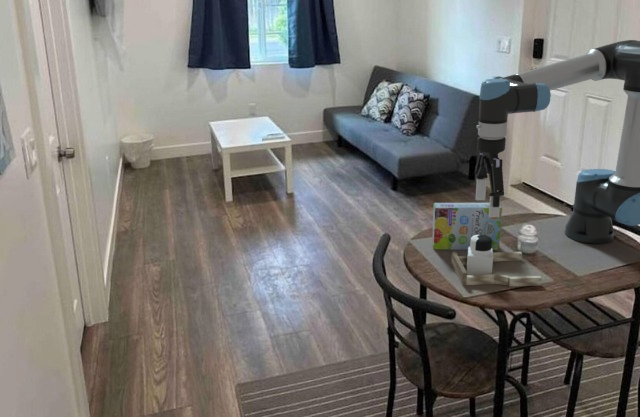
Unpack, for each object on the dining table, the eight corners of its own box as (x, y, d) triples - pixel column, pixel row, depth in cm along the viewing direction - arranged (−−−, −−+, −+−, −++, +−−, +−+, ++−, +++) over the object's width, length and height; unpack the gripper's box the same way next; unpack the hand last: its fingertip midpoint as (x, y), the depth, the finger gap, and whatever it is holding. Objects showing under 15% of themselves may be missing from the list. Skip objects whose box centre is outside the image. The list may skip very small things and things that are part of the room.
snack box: (495, 243, 190) (499, 201, 185) (498, 251, 185) (502, 208, 180) (431, 243, 193) (433, 201, 187) (433, 250, 187) (435, 207, 182)
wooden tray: (520, 258, 179) (521, 247, 178) (540, 285, 163) (542, 273, 161) (450, 261, 179) (450, 249, 178) (463, 288, 163) (464, 275, 162)
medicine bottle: (490, 269, 173) (493, 233, 169) (491, 279, 167) (494, 242, 163) (466, 267, 175) (469, 231, 171) (466, 277, 169) (468, 240, 164)
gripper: (466, 126, 168) (463, 194, 176) (491, 148, 145) (486, 225, 152) (491, 125, 168) (487, 193, 176) (520, 147, 145) (514, 224, 152)
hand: (486, 208), depth 164 cm, fingers open, 13 cm apart
